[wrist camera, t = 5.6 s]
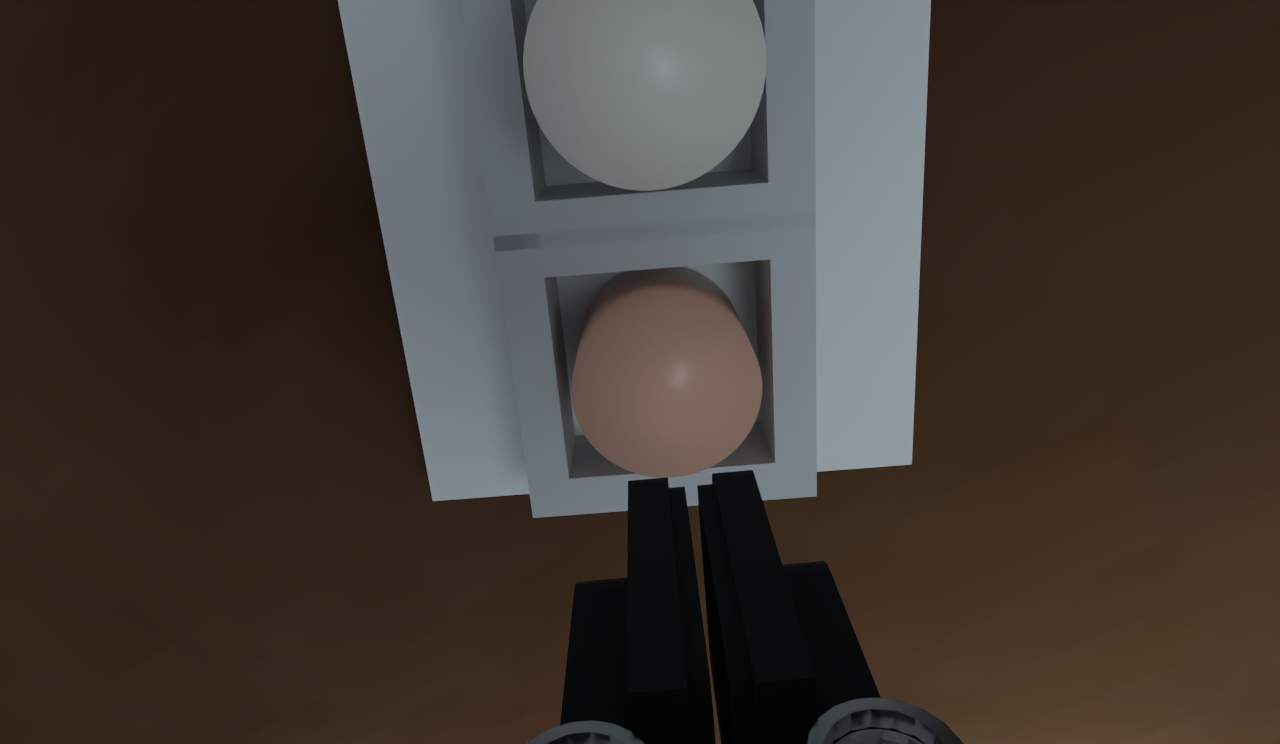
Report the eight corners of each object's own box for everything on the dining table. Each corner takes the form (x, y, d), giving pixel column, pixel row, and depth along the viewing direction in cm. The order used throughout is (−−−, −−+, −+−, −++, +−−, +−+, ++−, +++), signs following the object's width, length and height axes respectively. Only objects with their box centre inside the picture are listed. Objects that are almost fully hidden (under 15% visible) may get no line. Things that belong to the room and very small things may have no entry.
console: (275, -466, 20) (167, -628, 15) (924, -527, 20) (1016, -711, 15) (445, 473, 29) (410, 550, 24) (893, 438, 29) (944, 510, 24)
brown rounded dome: (571, 271, 24) (561, 308, 21) (739, 258, 24) (760, 292, 20) (588, 424, 26) (581, 484, 22) (745, 412, 26) (764, 470, 22)
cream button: (530, -34, 20) (507, -59, 16) (737, -52, 20) (763, -81, 16) (554, 176, 21) (538, 200, 18) (744, 161, 21) (769, 180, 18)
